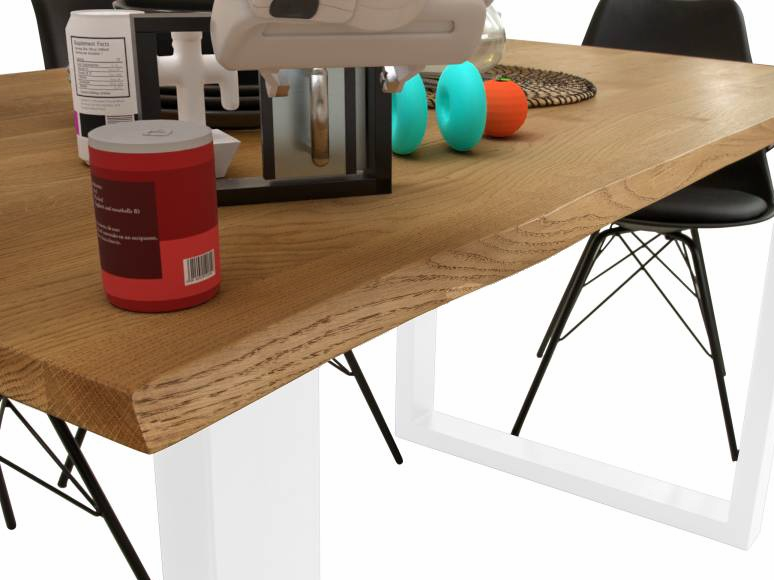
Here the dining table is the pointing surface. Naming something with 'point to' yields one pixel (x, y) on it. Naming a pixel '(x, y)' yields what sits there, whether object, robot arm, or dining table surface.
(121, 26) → the supplement can
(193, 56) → the white faucet
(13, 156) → the dining table surface
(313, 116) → the window pane
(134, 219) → the canned food
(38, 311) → the dining table surface
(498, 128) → the clementine
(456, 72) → the donuts
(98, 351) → the dining table surface
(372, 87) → the window frame
